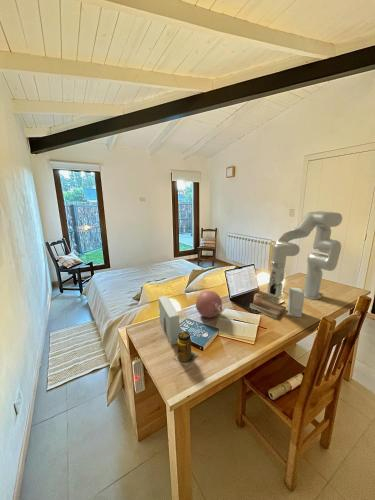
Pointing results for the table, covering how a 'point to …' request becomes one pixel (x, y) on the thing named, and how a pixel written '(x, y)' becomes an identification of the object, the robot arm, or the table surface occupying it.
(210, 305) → the pink ball
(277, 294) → the carton
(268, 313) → the shelf
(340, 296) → the table surface
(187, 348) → the condiment
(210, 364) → the table surface
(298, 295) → the skincare box
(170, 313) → the skincare box
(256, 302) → the jar
